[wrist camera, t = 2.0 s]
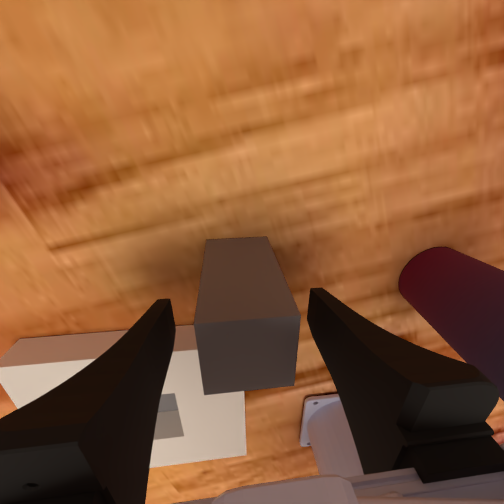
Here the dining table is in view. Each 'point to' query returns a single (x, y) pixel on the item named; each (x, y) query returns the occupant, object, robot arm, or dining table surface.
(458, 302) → the cup
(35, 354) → the socket plate
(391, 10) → the dining table surface
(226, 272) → the plug
